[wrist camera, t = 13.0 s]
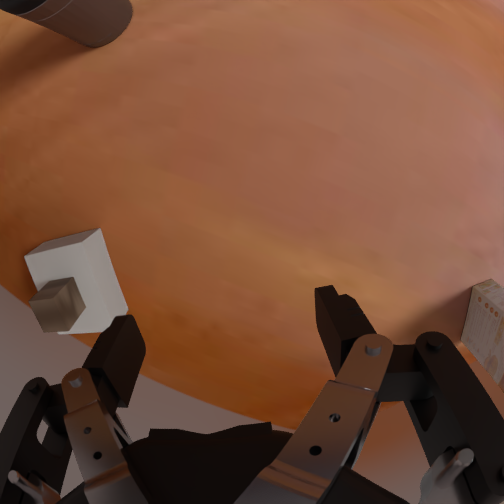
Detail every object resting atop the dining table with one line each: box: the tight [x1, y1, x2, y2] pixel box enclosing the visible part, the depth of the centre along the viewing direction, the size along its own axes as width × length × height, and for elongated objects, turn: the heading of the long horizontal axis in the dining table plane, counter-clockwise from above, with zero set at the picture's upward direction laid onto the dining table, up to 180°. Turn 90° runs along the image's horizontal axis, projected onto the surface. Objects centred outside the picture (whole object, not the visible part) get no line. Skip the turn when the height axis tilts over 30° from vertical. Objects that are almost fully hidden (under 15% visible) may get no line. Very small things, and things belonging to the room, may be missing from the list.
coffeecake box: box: [461, 279, 504, 392], centre depth 40 cm, size 15×7×20 cm, turn 11°
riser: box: [24, 228, 128, 334], centre depth 39 cm, size 14×12×6 cm
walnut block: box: [29, 277, 86, 332], centre depth 33 cm, size 5×5×6 cm
